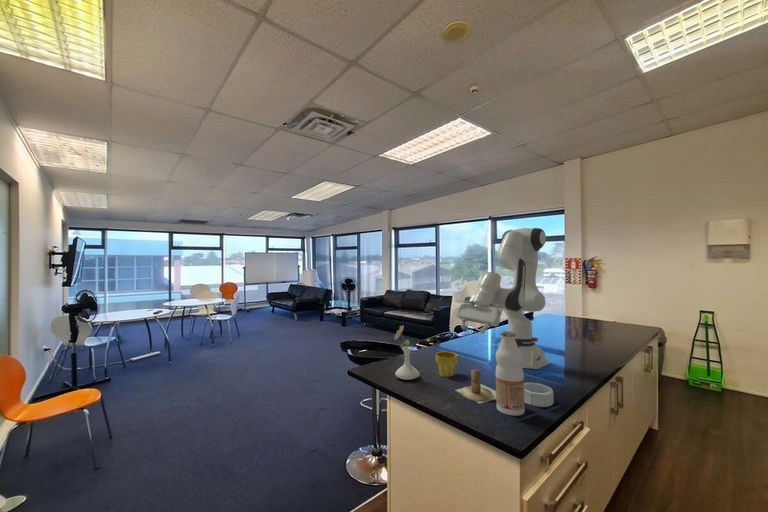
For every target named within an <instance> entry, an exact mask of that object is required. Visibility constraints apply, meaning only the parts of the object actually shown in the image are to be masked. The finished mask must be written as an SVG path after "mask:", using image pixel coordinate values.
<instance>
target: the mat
mask: <svg viewBox="0 0 768 512" xmlns="http://www.w3.org/2000/svg"><path fill="white" fill-rule="evenodd" d="M480 384H481V383H480ZM481 387H483V388H486V389H488V390H490V391H491V392H492V398H491V399H490V400H487V401H475V403H478V404H480V405H481V404H483V403H487V402H490V401H493V400H496V389H492V388H491V387H489V386H486V385H484V384H481ZM461 389H462V388H457V389H455V392H457V393H460V394H461Z"/></svg>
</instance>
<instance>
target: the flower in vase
mask: <svg viewBox="0 0 768 512" xmlns="http://www.w3.org/2000/svg"><path fill="white" fill-rule="evenodd" d="M404 327H405V326H404V325H403V324H402V325H400V326H399V330H396V333H395V335H393V337H394V338H393V339H394V340H395V341H396V340H398V339H399V337H402V339H403V342H402V343H401V344H400V345H399V348H401V350H402V351H403V353H404V355H403V356H404V363H403V365H402V366H400V367H399V368H398V369H397V370H396V372H395V374H394V375H395V376H396V377H397V378H399V379H401V380H406V381H407V380H410V381H411V380H414V379H417V378H419V377H420V376H421V375H420V372H419V371H418V369H417V368H416V367H414V366H413V365H412V363H410V355H411V351H412V350H413V347H411V346H409V345H411V343H410V342H411V341H410V340H409V339H406V340H405V337H404V336H403V334H402V333H403V331H404ZM404 345H405V346H404Z"/></svg>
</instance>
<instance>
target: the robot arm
mask: <svg viewBox="0 0 768 512" xmlns="http://www.w3.org/2000/svg"><path fill="white" fill-rule="evenodd" d="M546 241H547V236H546V232H545V231H544V230H543V228H538V227H534V228H529V227H528V228H527V227H524V228H523V227H522V228H516V229H509V230H506V231H504V232H503V233H502V236H501V243H500V245H499V248H498V251H497V255H496V256H497V257H496V258H497V261H498V262H499V264H500V265H501V266H503V267H504V268H506V269H507V270H510V271H513V273H512V278H513V282H512V283H513V284H512V287H511V288H503V287H501V281H502V275H500V274H499V273H497V272H492V271H491V272H490V271H488V272H487V271H486V272H485V273H484V274H483V275H482V277H481V279H480V281H479V283H478V287H477V291H476V292H475V293H474V294H473V295H469V296H465V297H464V296H463V298H462V302H461V303H460V305H459V306H458V307H457V311H456V317H457V318H458V319H459V320H461V326H460V328H461V329H462V330H466V328H467V325H466V323H467V321H468V322H471V323H472V322H473V323H476V324H477V323H478V324H483V325H484V326H483V327H480V328H479V333H480V334H485V333H486V330H488V329H489V328H490V326H493V327H497V326H499V325H500V321H501V315H502V314H503V312H504V314H505V316H506V318H507V323H508V331H512V332H515V334H516V336H515V341H516V344H517V346H518V349H519V351H520V352H521V354H522V357H523V361H522V369H531V370H532V369H533V370H539V369H541V368H543V367H546V366H548V365H550V364H551V361H550V360H548V359H546V356H545V352H544V350H543V349H541V348H540V347H539V346H537V345H536V342H539V338H538V337H533V323H532V322H531V320H530V319H529V318H527V317H526V315H524V313H523V312H527V313H529V312H530V313H536V312H541V311H542V310H543V309H544V308H545V307H546V301H547V300H546V297H545V296H544V294H543V293H542V292H541V291H540V290H539V289H538V288H539V287H538V286H537V282H536V281H537V280H536V279H537V271H538V270H537V269H538V265H539V263H538V262H539V251H540V250H541V249H542V248H543V246H544V245H545V243H546Z"/></svg>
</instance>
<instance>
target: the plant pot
mask: <svg viewBox="0 0 768 512" xmlns="http://www.w3.org/2000/svg"><path fill="white" fill-rule="evenodd" d="M458 357H459V356H458V354H457V353H455V352H452V351H438V352H436V354H435V362H436V363H437V368H438V371H439V372H438V373H439V375H440V376H441V377H443V378H449V377H454V376H455V371H456V368H457V367H456V366H457V364H458V363H459V361H458V360H459V359H458Z"/></svg>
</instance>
